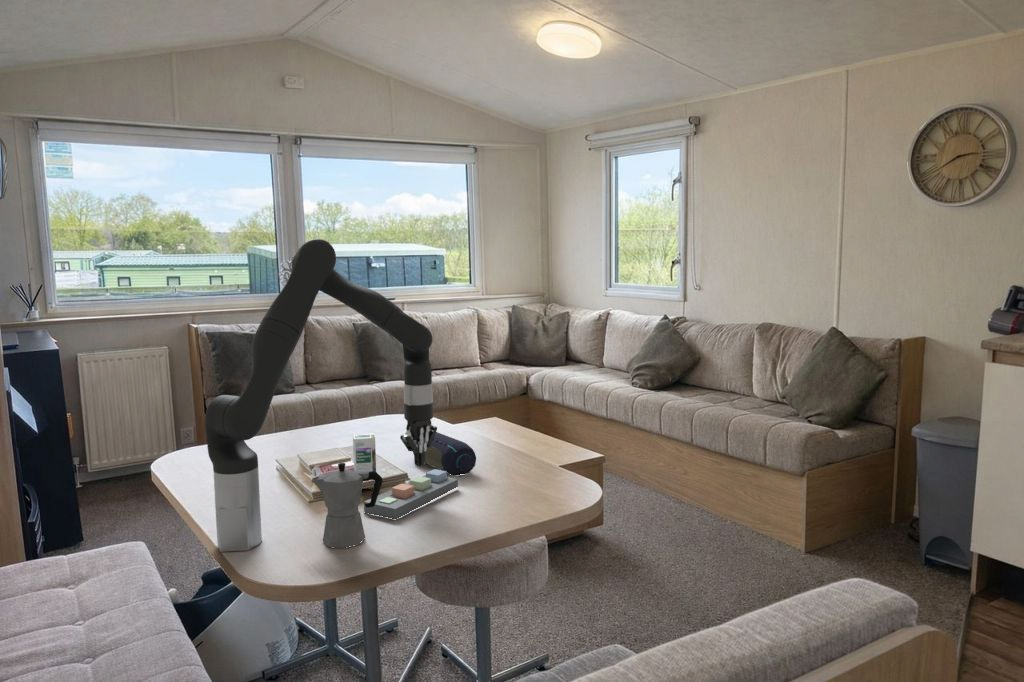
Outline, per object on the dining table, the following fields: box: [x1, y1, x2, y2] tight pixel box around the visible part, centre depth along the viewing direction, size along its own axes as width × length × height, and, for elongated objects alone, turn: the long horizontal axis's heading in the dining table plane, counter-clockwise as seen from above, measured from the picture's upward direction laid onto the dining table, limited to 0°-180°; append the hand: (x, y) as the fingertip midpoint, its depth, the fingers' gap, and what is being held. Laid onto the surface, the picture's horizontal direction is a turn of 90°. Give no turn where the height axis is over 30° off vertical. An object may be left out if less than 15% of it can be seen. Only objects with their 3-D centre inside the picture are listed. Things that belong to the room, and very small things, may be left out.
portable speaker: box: [412, 431, 477, 476], centre depth 214 cm, size 25×10×10 cm, turn 37°
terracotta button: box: [391, 483, 414, 499], centre depth 182 cm, size 4×4×4 cm
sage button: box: [408, 475, 431, 491], centre depth 188 cm, size 4×4×4 cm
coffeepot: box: [311, 462, 384, 549], centre depth 160 cm, size 15×9×18 cm, turn 101°
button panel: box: [363, 474, 459, 519], centre depth 186 cm, size 26×10×3 cm, turn 149°
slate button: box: [425, 468, 448, 483], centre depth 194 cm, size 4×4×4 cm
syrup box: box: [352, 432, 377, 481], centre depth 196 cm, size 6×6×14 cm
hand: (419, 465), depth 187 cm, fingers closed
